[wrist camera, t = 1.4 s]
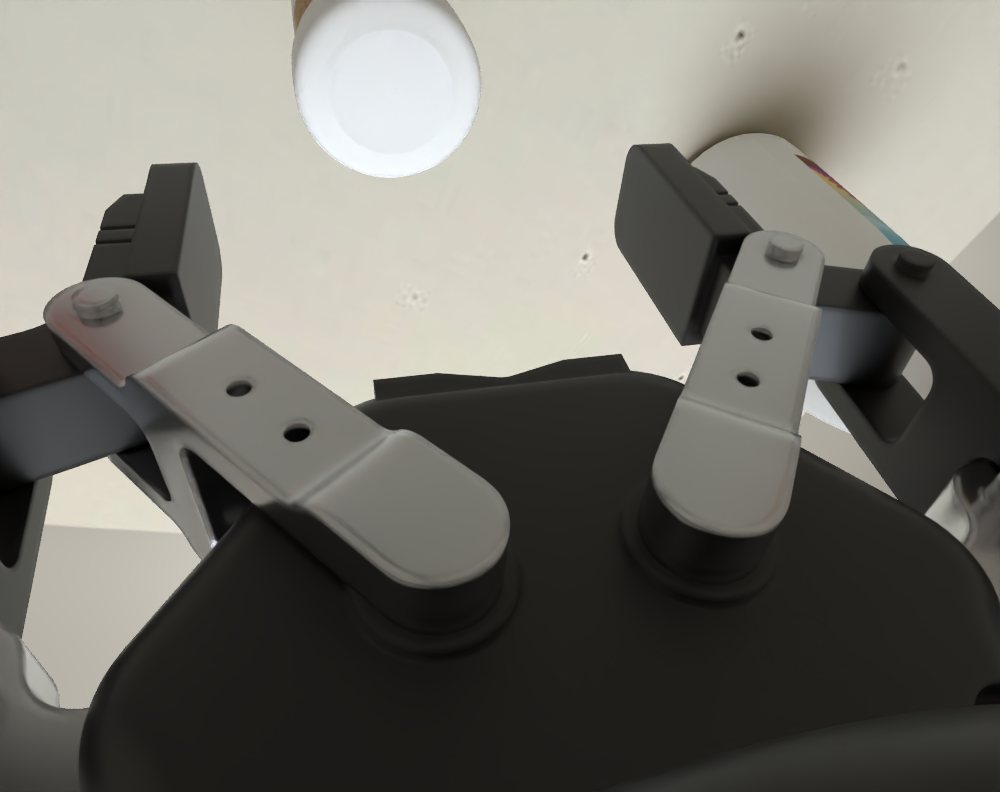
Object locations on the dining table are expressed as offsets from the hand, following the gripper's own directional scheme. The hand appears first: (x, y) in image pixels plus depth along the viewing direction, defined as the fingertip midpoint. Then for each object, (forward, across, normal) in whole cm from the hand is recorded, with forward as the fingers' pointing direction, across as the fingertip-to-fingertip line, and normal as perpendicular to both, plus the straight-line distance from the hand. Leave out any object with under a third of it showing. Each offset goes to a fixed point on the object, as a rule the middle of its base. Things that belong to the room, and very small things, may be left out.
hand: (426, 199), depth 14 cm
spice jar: (+19, 0, 0) cm, 19 cm away
